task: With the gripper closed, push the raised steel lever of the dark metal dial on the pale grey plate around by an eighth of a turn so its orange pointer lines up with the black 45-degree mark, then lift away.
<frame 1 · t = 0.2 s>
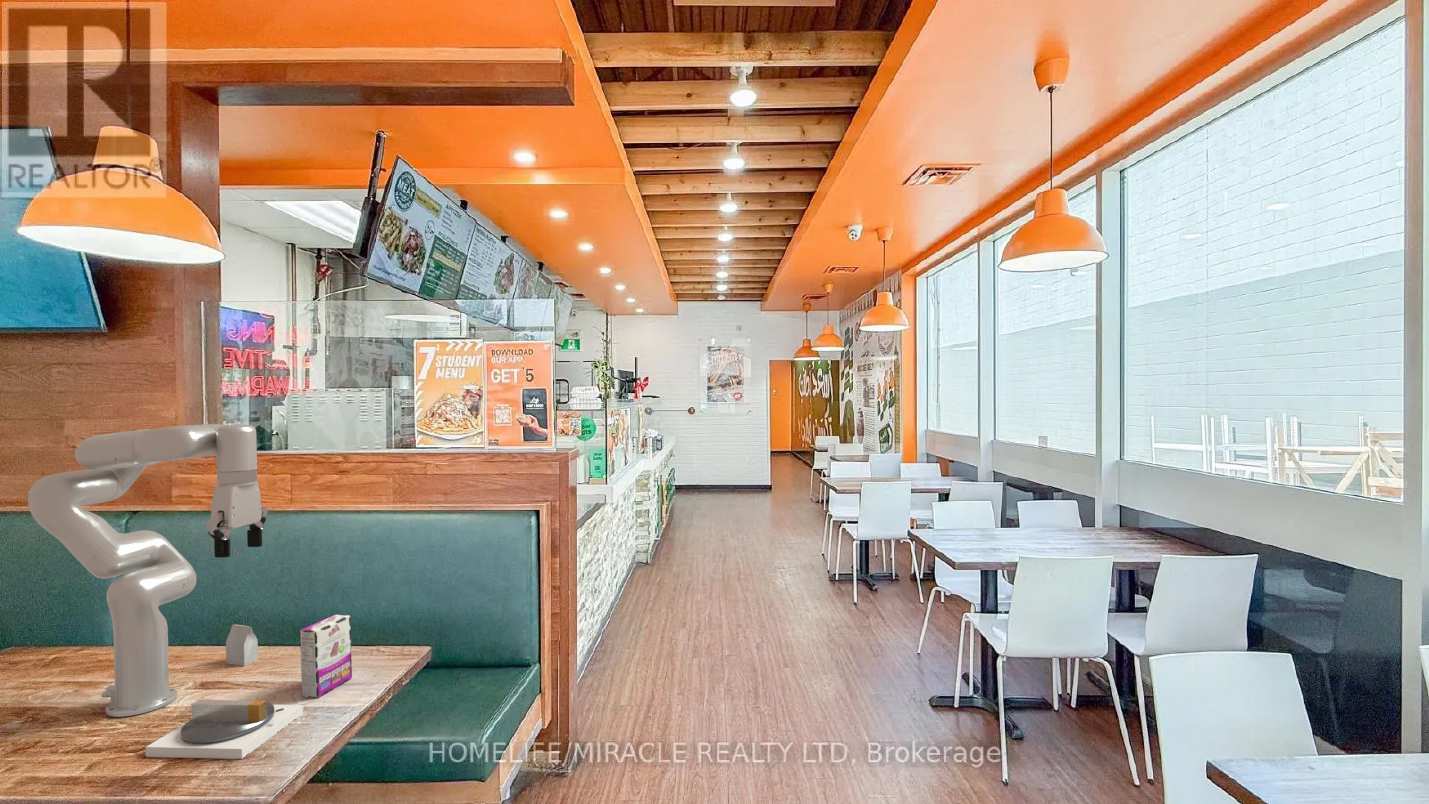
hand: (239, 551, 149), 36 cm above the table, tool pointing down, fingers open, 9 cm apart
candy bar box: (327, 688, 160), on the table
dial plate: (229, 734, 138), on the table
dial: (229, 712, 138), point 5 cm above the table, hinge at 0.0°
grey milk carton: (242, 662, 175), on the table
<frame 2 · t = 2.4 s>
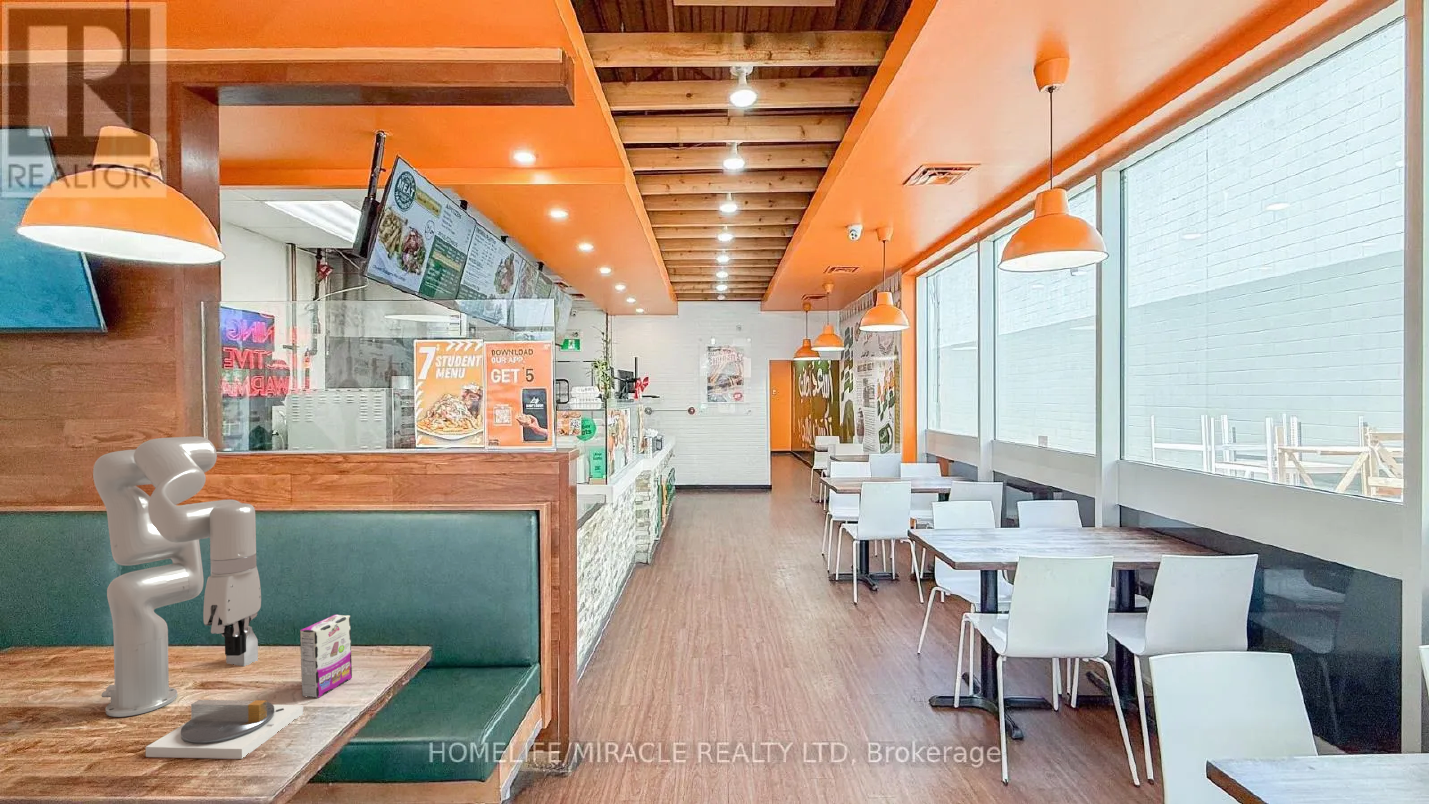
hand: (235, 653, 132), 20 cm above the table, tool pointing down, fingers closed
nothing on the table moved.
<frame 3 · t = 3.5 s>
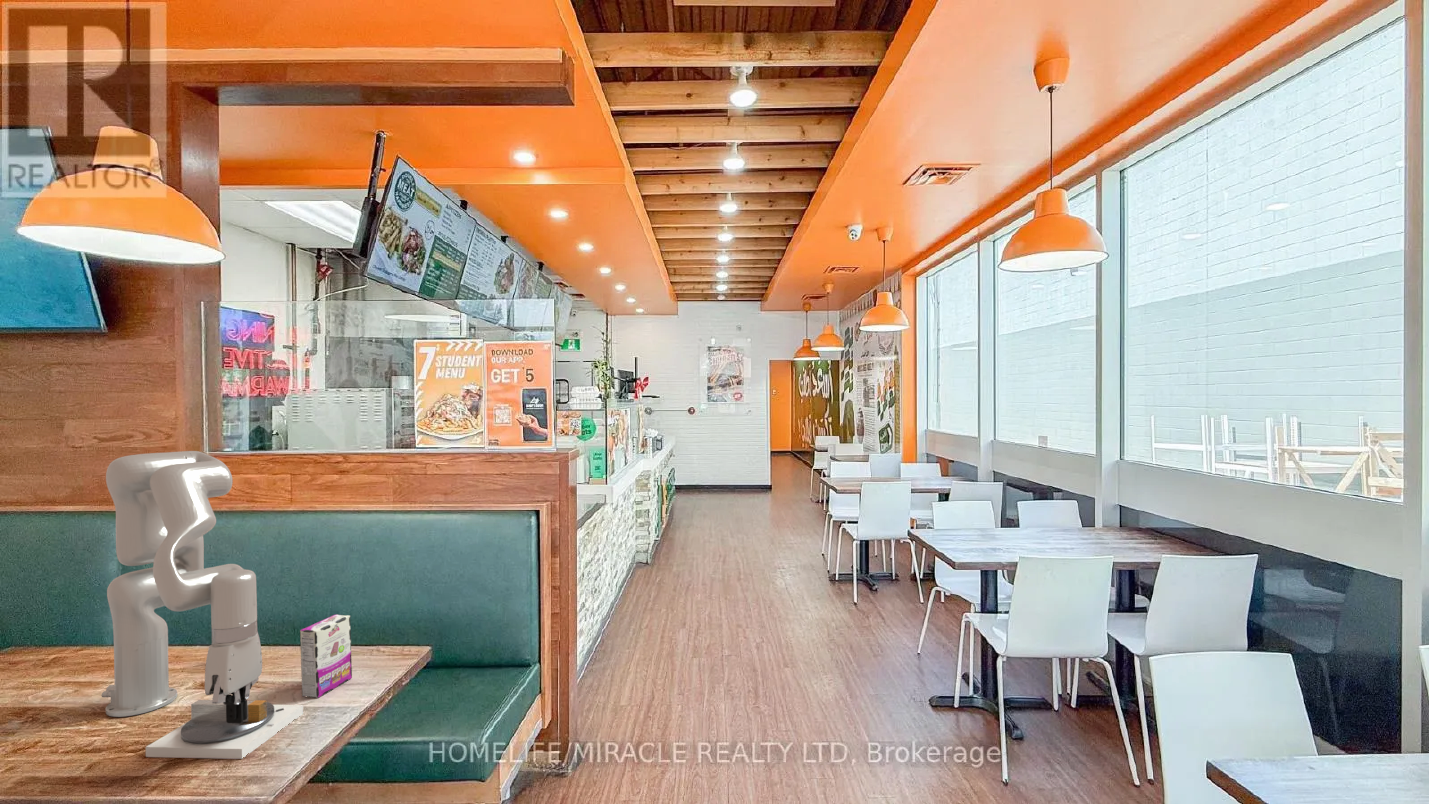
hand: (236, 721, 132), 6 cm above the table, tool pointing down, fingers closed
nothing on the table moved.
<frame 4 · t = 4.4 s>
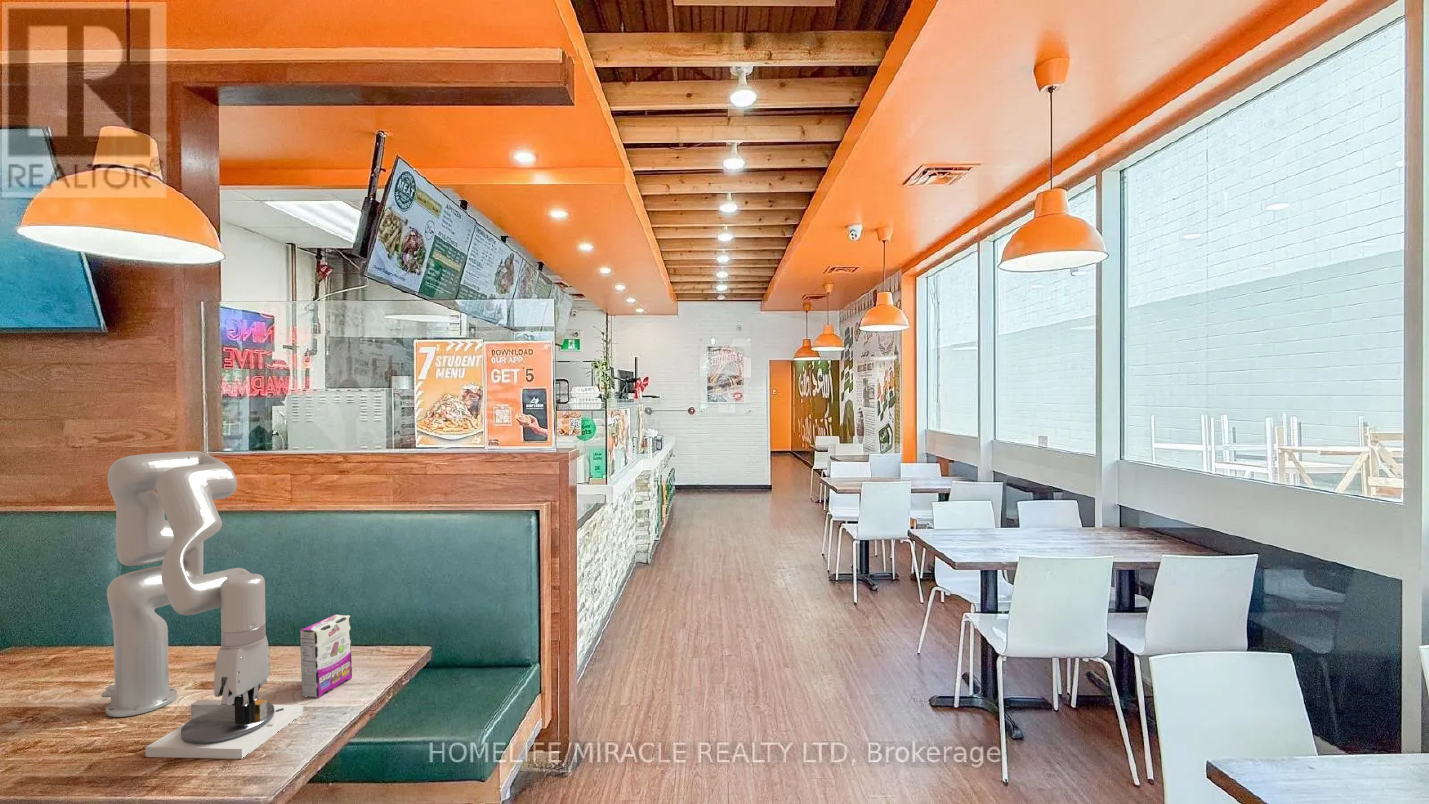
hand: (245, 722, 134), 4 cm above the table, tool pointing down, fingers closed
dial: (229, 712, 138), point 5 cm above the table, hinge at 1.2°, touching gripper
everything else where it was.
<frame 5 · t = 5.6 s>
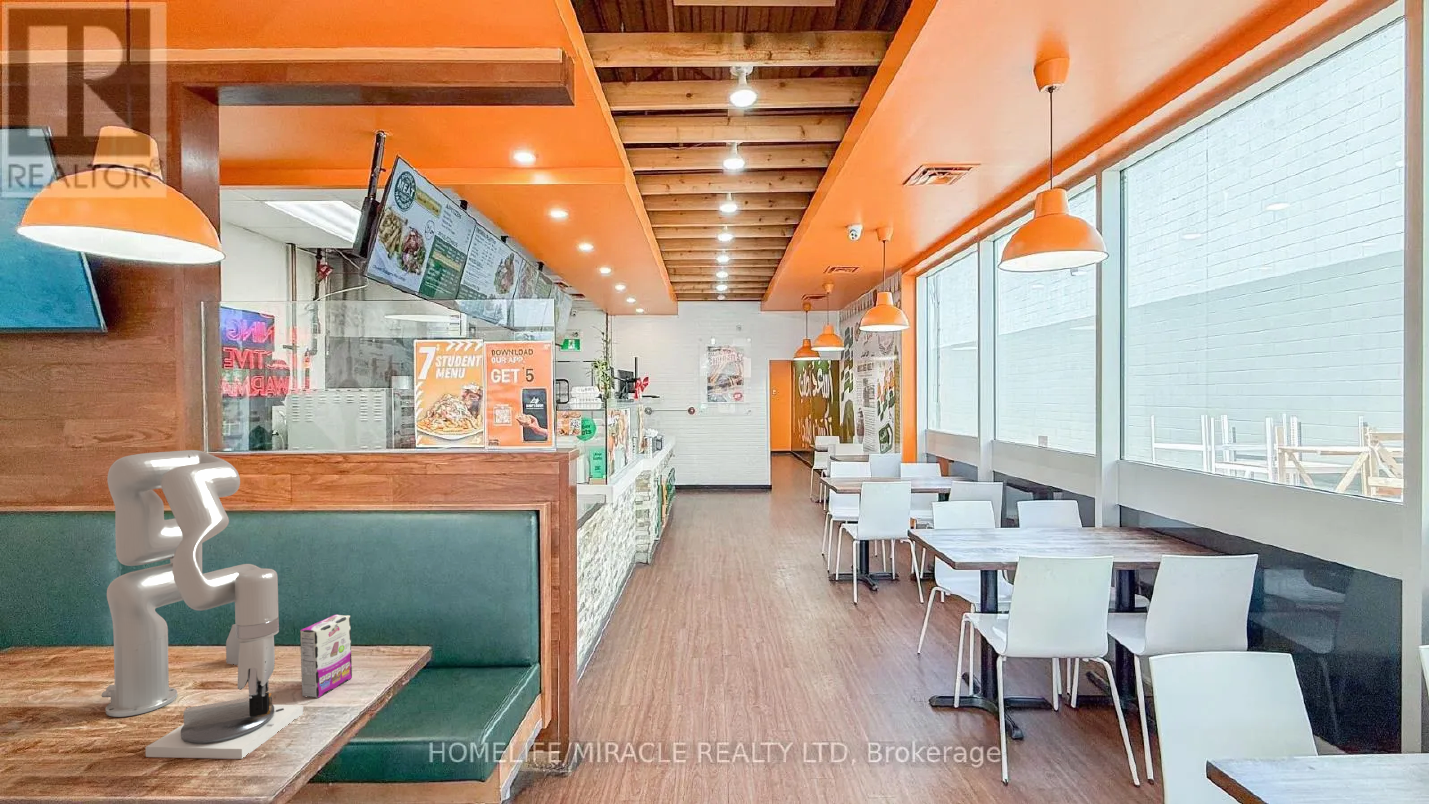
hand: (259, 713, 137), 5 cm above the table, tool pointing down, fingers closed
dial: (229, 712, 138), point 5 cm above the table, hinge at 27.3°, touching gripper
everything else where it was.
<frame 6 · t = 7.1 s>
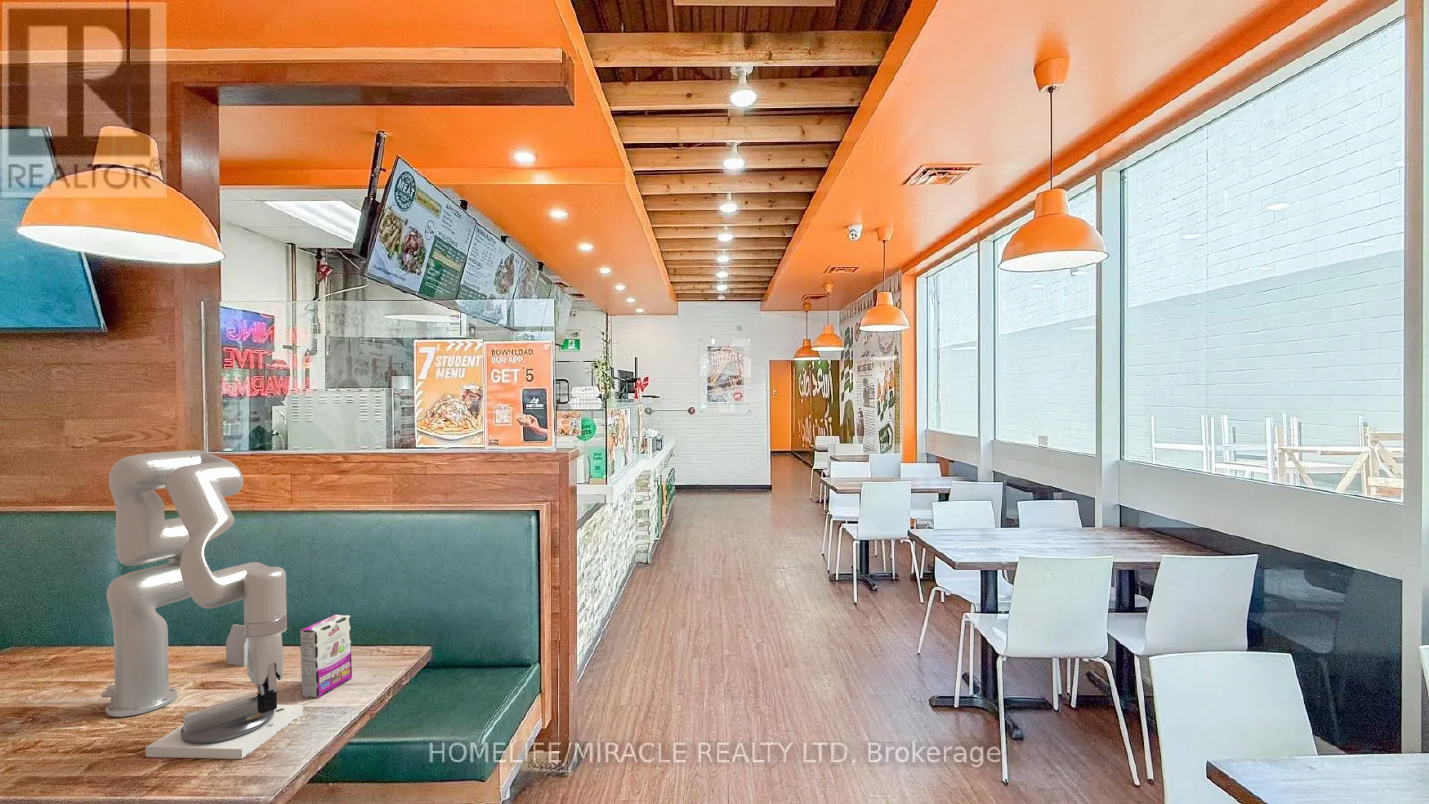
hand: (267, 710, 139), 5 cm above the table, tool pointing down, fingers closed
dial: (229, 712, 138), point 5 cm above the table, hinge at 50.3°
everything else where it was.
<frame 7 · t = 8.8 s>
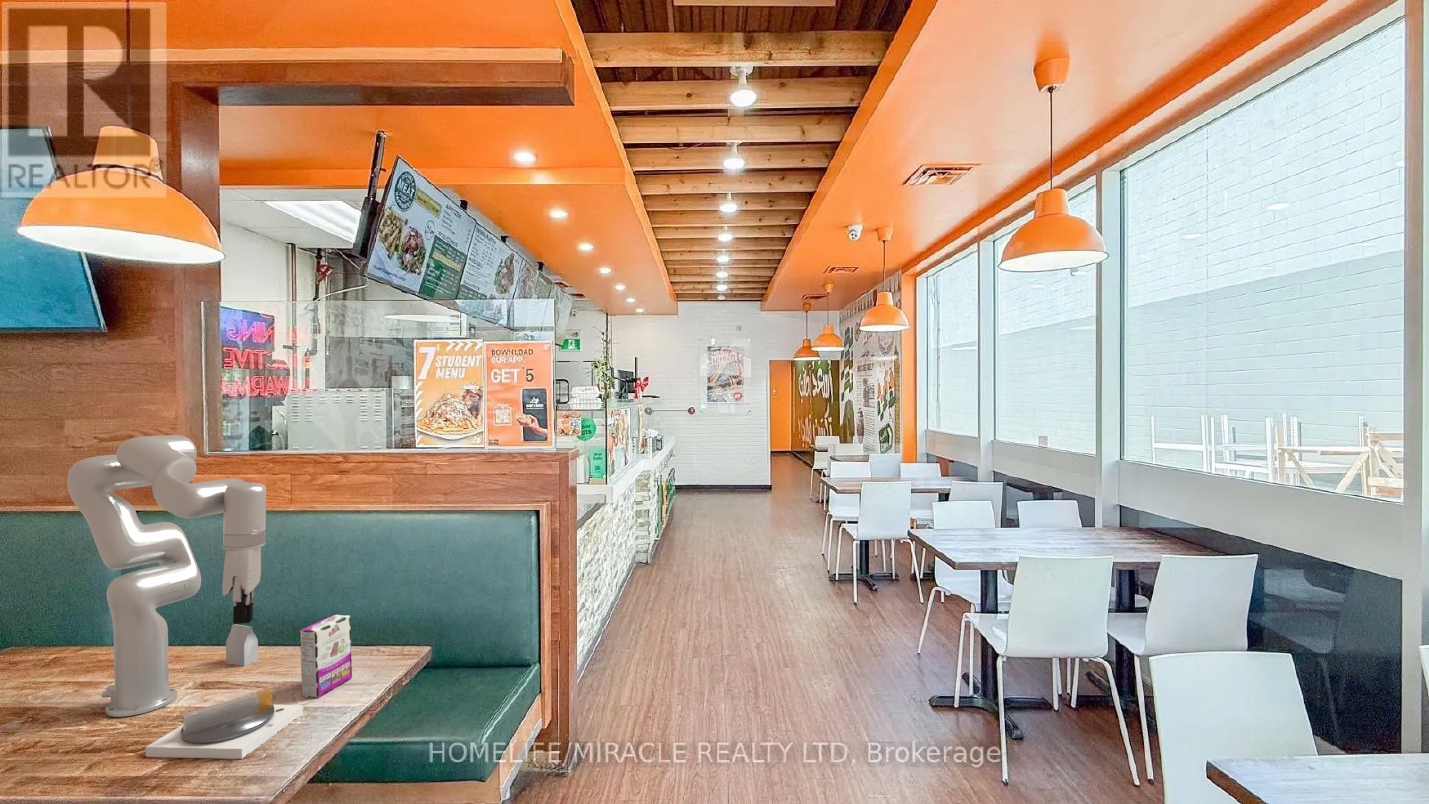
hand: (243, 621, 141), 23 cm above the table, tool pointing down, fingers closed
nothing on the table moved.
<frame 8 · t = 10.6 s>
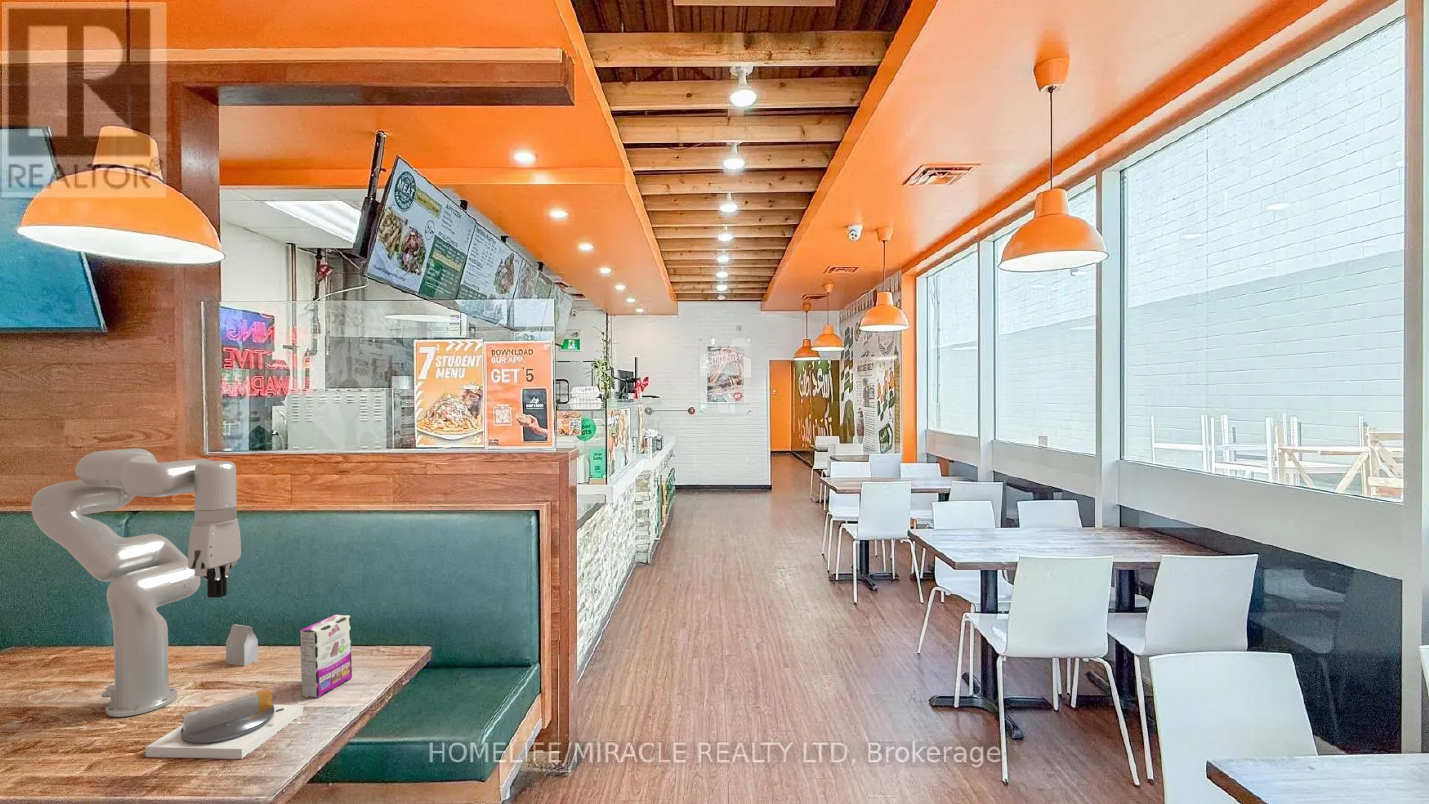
hand: (217, 596, 146), 27 cm above the table, tool pointing down, fingers closed
nothing on the table moved.
at the end: dial at +50° (first picture: +0°) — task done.
